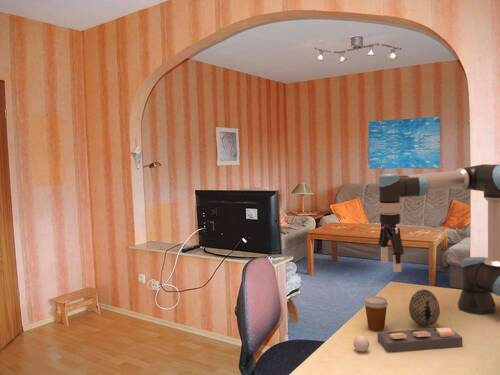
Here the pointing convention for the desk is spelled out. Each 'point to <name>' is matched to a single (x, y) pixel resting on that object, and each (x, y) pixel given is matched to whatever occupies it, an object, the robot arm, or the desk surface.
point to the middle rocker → (421, 334)
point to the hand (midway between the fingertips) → (390, 267)
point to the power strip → (417, 341)
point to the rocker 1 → (398, 335)
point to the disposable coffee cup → (376, 312)
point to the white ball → (361, 343)
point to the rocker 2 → (445, 332)
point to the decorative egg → (424, 308)
